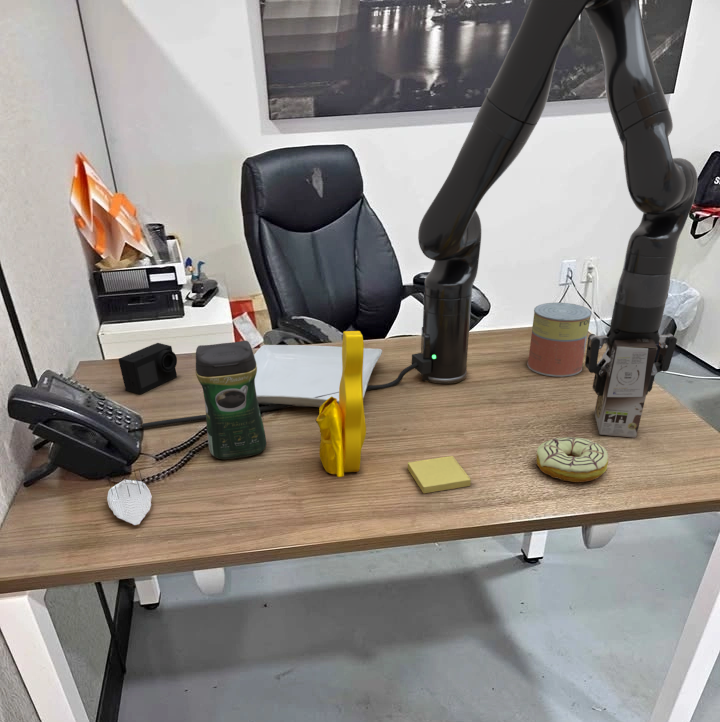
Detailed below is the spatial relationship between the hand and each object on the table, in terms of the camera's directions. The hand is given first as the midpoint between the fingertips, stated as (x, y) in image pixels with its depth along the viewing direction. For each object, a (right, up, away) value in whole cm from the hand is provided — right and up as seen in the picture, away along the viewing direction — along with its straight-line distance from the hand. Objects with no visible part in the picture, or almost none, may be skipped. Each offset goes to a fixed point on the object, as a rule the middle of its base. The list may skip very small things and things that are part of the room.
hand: (620, 393), depth 113 cm
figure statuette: (-48, -13, -7) cm, 50 cm away
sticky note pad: (-33, -15, -11) cm, 37 cm away
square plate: (-56, +4, +20) cm, 59 cm away
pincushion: (-79, -19, -16) cm, 83 cm away
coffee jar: (-66, -10, -2) cm, 66 cm away
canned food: (-4, +9, +26) cm, 28 cm away
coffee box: (0, -5, +3) cm, 6 cm away
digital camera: (-88, +5, +22) cm, 91 cm away
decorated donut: (-12, -13, -9) cm, 20 cm away
